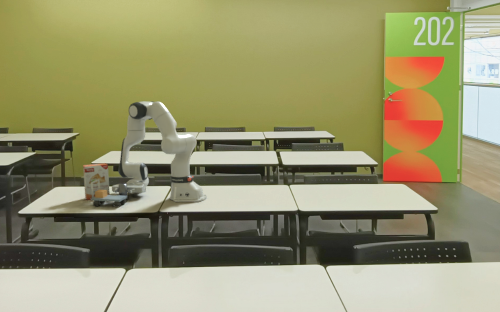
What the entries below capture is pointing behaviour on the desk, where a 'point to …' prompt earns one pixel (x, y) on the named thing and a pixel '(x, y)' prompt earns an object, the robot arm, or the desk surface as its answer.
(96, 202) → the cart
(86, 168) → the cracker box
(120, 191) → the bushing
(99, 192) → the orange block
